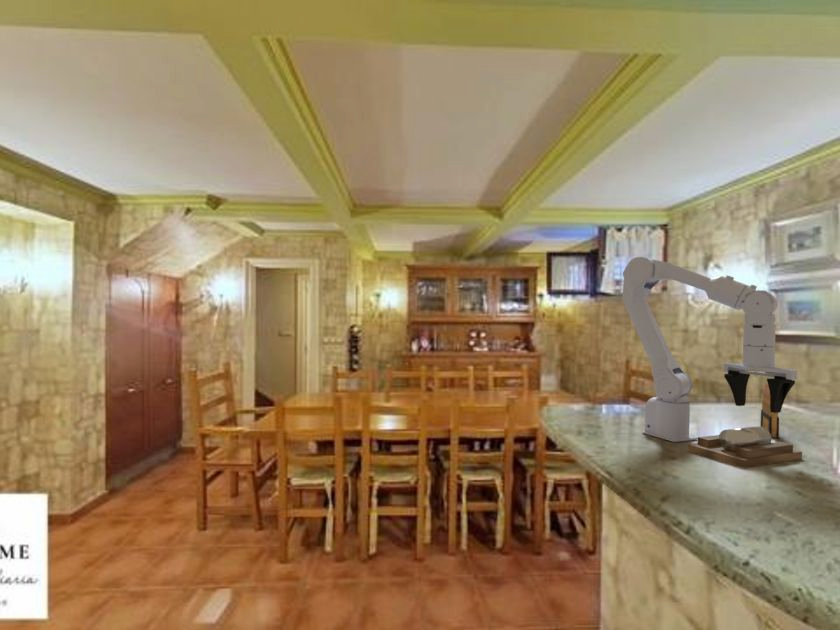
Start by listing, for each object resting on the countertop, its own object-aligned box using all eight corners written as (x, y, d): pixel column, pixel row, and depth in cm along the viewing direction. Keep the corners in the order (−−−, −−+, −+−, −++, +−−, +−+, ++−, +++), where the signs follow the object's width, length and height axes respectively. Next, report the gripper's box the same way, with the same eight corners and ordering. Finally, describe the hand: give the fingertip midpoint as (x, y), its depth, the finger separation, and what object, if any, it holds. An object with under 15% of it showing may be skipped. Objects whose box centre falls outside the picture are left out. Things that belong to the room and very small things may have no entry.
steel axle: (715, 431, 103) (734, 427, 100) (747, 428, 107) (766, 424, 103) (723, 453, 102) (742, 450, 98) (754, 448, 106) (774, 445, 102)
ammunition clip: (778, 438, 119) (780, 389, 118) (769, 437, 119) (770, 388, 119) (768, 429, 128) (769, 383, 128) (760, 428, 129) (761, 383, 129)
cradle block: (688, 451, 106) (688, 437, 106) (744, 444, 113) (744, 431, 113) (744, 468, 95) (744, 452, 94) (801, 459, 102) (802, 444, 101)
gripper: (714, 343, 111) (713, 403, 111) (781, 348, 98) (780, 416, 98) (736, 343, 114) (734, 402, 114) (804, 348, 101) (803, 414, 101)
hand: (757, 408), depth 106 cm, fingers open, 7 cm apart
